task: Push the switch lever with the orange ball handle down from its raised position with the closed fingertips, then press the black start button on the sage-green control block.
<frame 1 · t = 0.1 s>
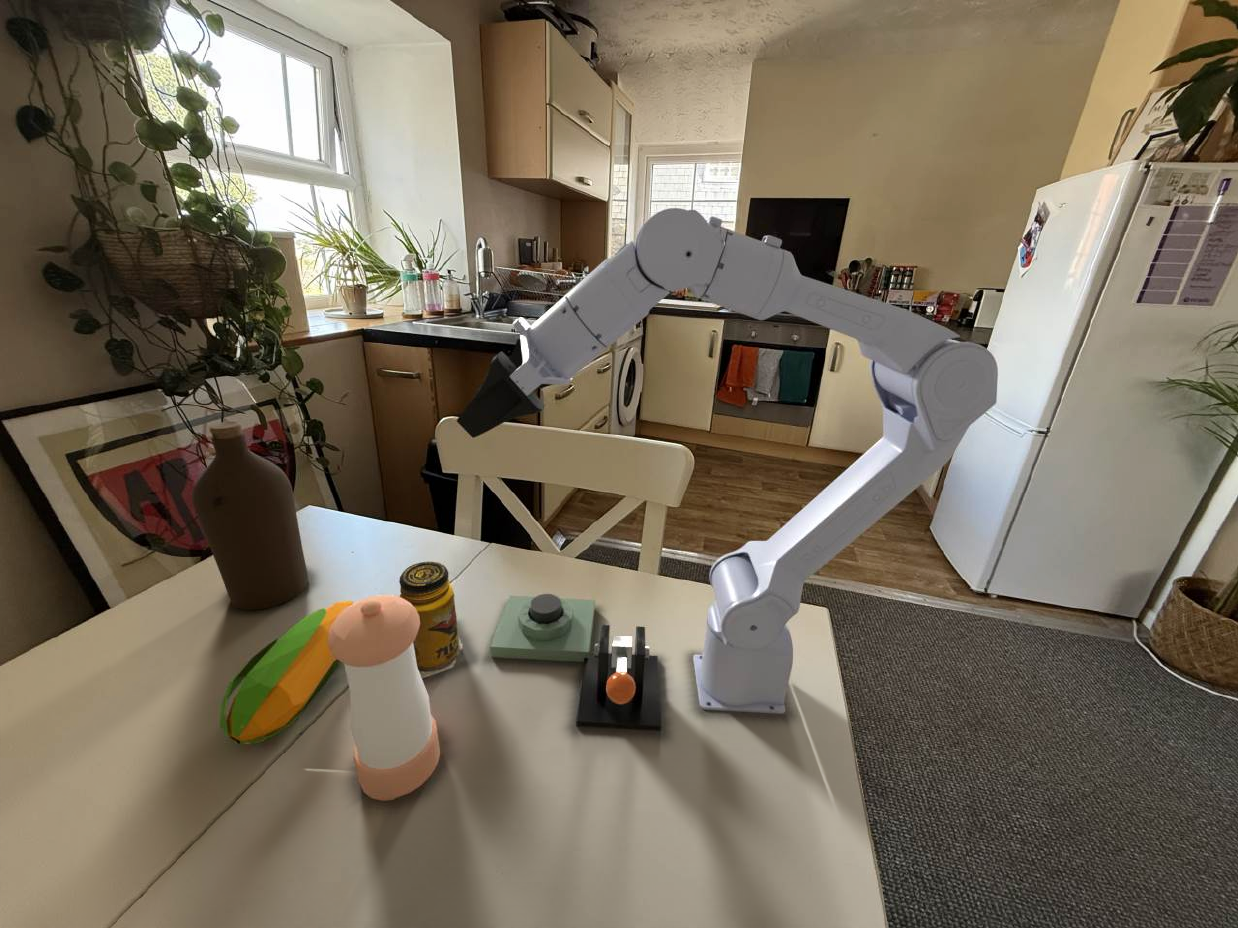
hand: (478, 415, 47), 32 cm above the table, tool tilted 50°, fingers open, 7 cm apart
start button: (545, 608, 64), point 4 cm above the table, slide at 0.1 cm
olive oil: (272, 590, 72), on the table
switch lever: (621, 668, 51), point 7 cm above the table, hinge at 20.0°
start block: (546, 633, 65), on the table
pepper shaker: (401, 764, 48), on the table
switch bracket: (619, 692, 57), on the table
corn: (306, 683, 57), on the table
condiment: (426, 656, 61), on the table
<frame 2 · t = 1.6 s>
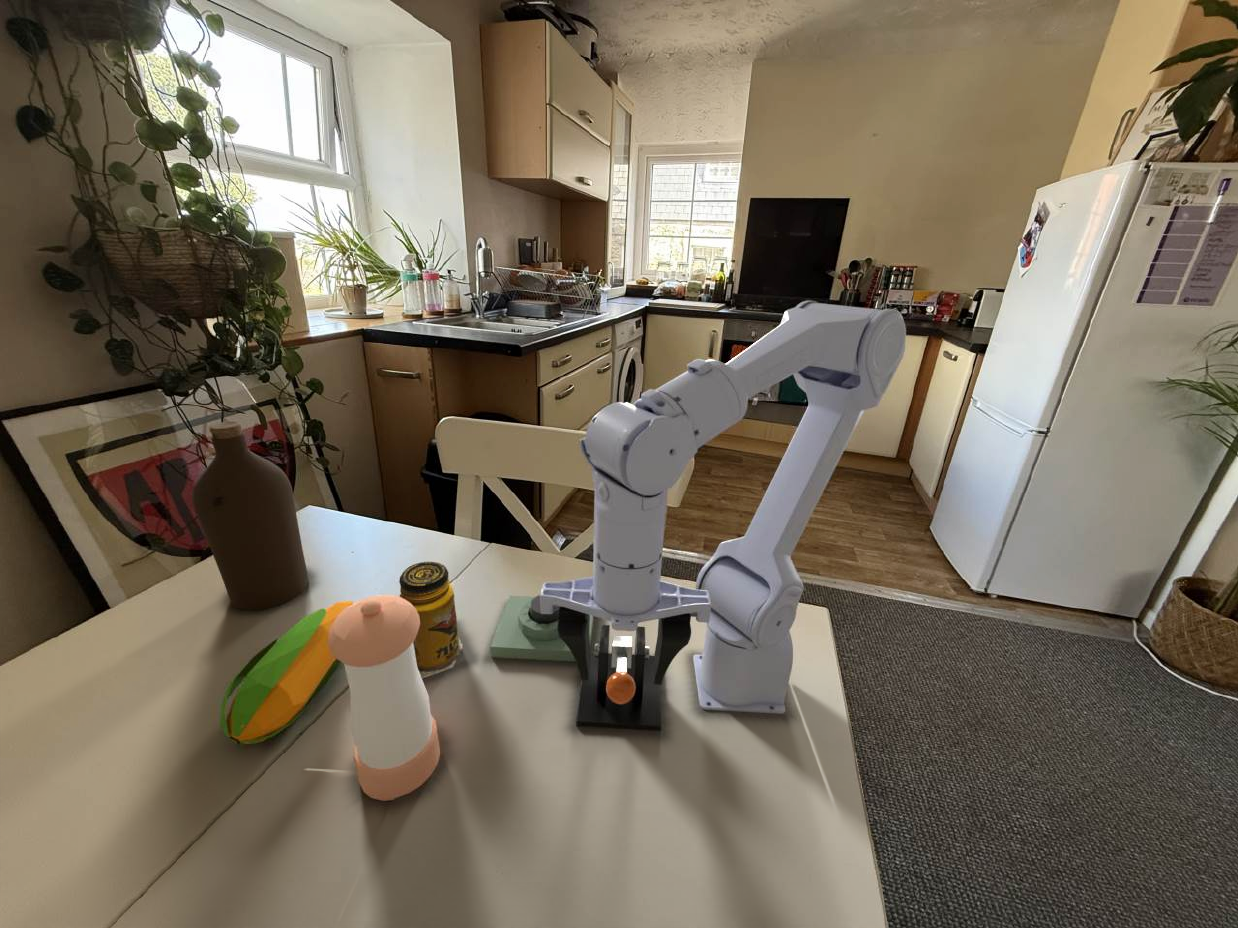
hand: (621, 674, 46), 10 cm above the table, tool pointing down, fingers open, 6 cm apart
nothing on the table moved.
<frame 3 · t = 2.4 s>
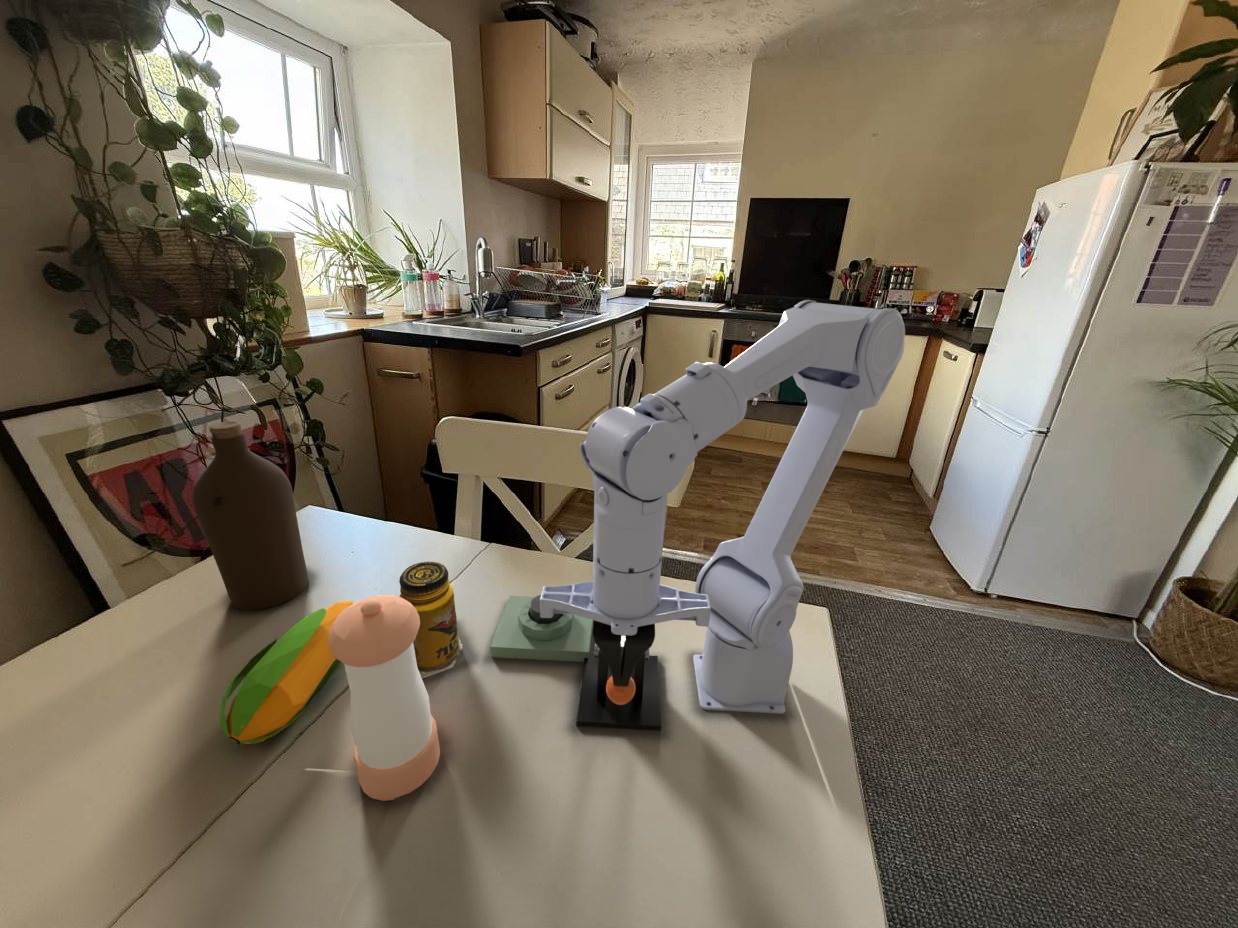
hand: (621, 677, 46), 10 cm above the table, tool pointing down, fingers closed, pressing on switch lever
switch lever: (621, 668, 51), point 7 cm above the table, hinge at 19.6°, touching gripper
everything else where it was.
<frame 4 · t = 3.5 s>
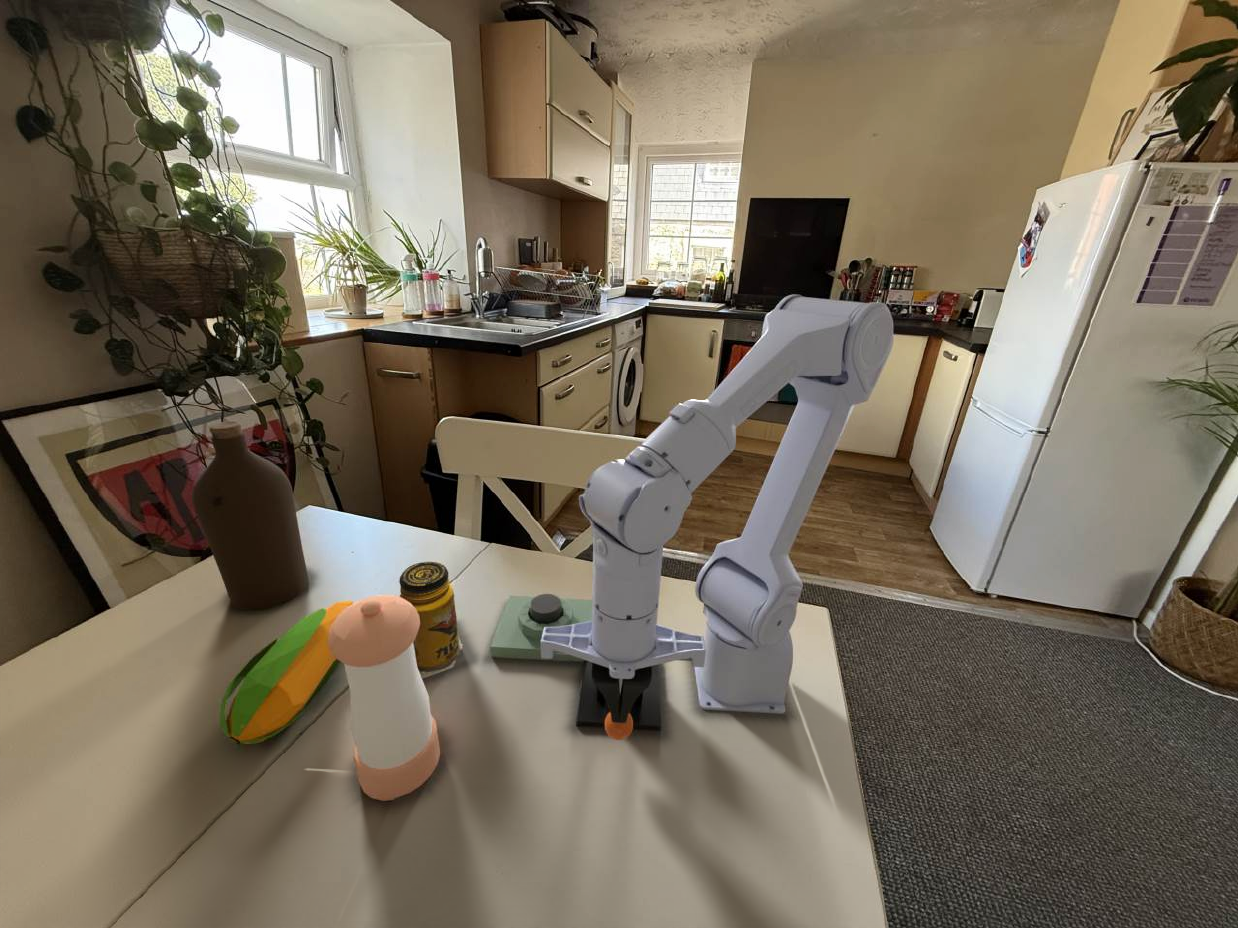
hand: (619, 713, 48), 6 cm above the table, tool pointing down, fingers closed, pressing on switch lever
switch lever: (620, 685, 51), point 5 cm above the table, hinge at -12.0°, touching gripper
everything else where it was.
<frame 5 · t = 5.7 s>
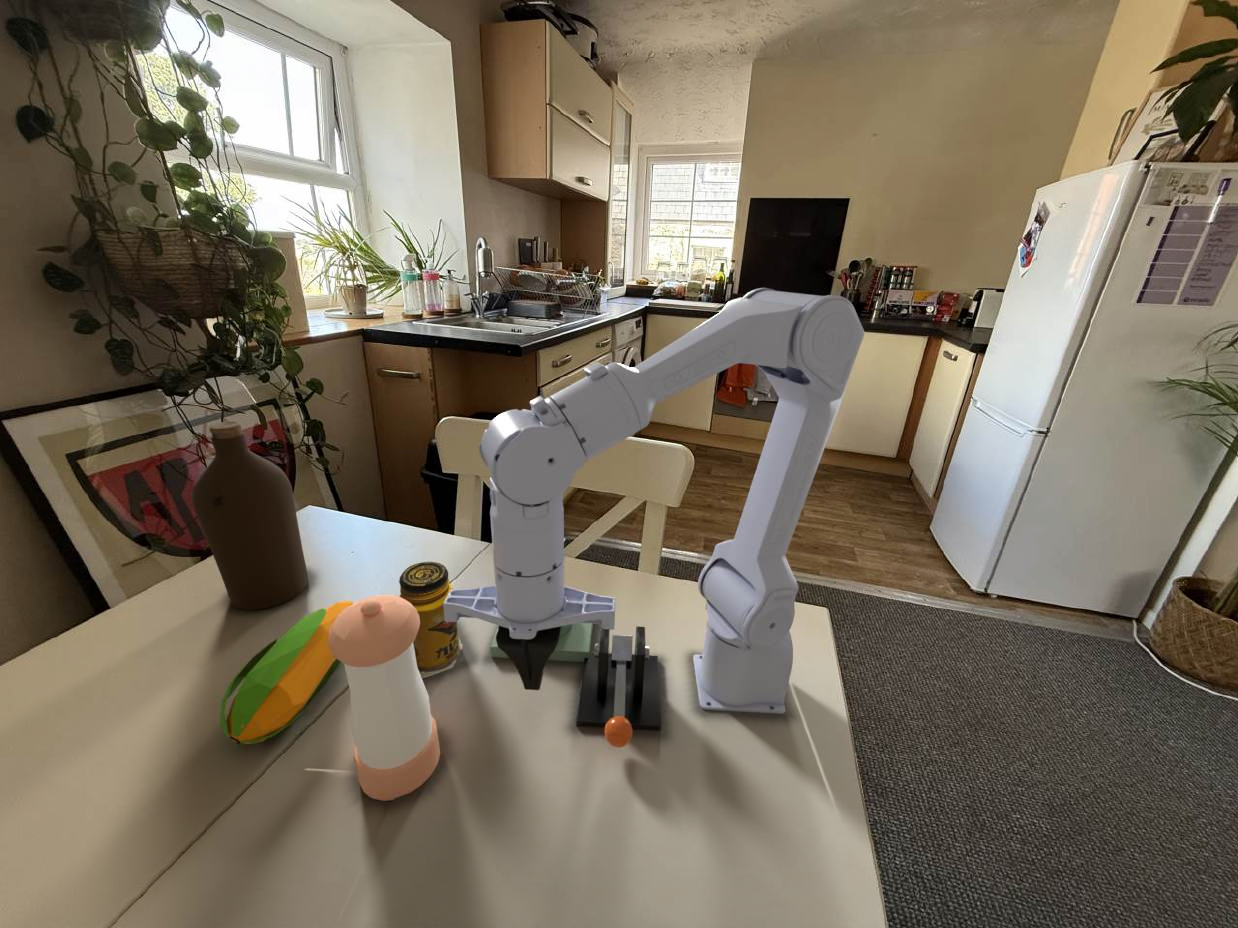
hand: (533, 681, 46), 10 cm above the table, tool pointing down, fingers closed
switch lever: (620, 689, 52), point 4 cm above the table, hinge at -24.8°
everything else where it was.
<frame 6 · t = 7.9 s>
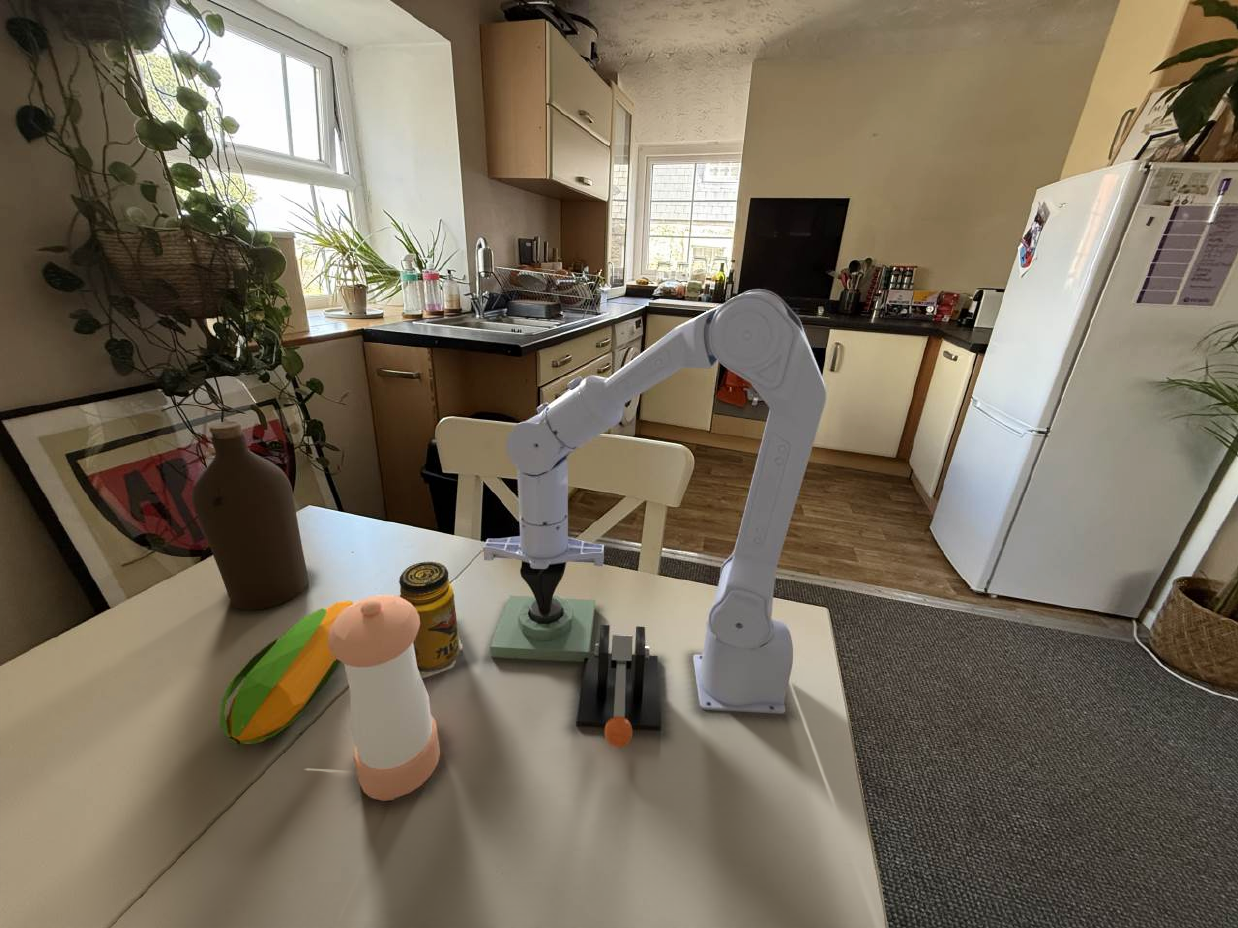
hand: (545, 606, 64), 4 cm above the table, tool pointing down, fingers closed, pressing on start button
start button: (546, 612, 64), point 3 cm above the table, slide at -0.4 cm, touching gripper
everything else where it was.
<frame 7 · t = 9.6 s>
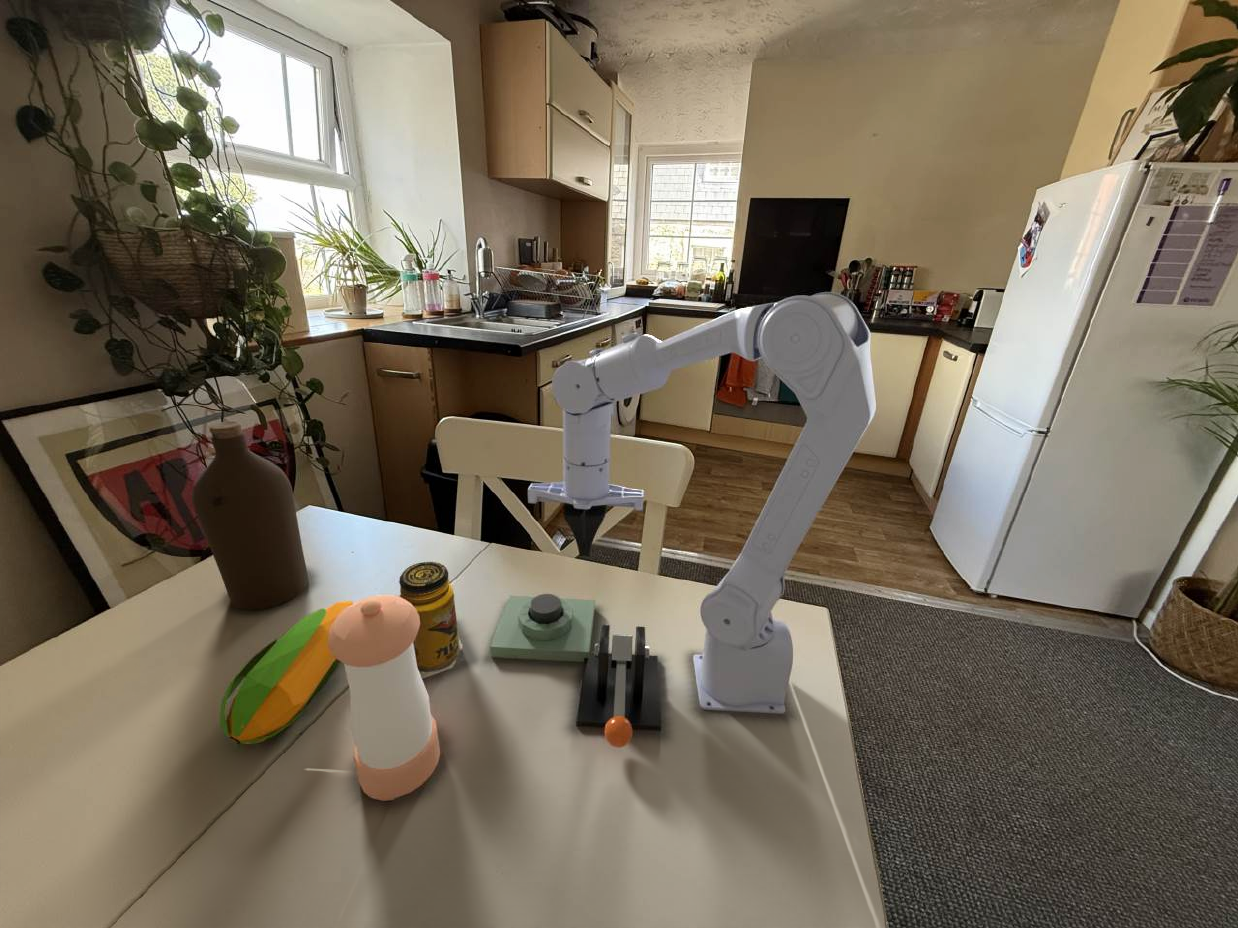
hand: (585, 552, 66), 10 cm above the table, tool pointing down, fingers closed
start button: (545, 608, 64), point 4 cm above the table, slide at 0.1 cm
everything else where it was.
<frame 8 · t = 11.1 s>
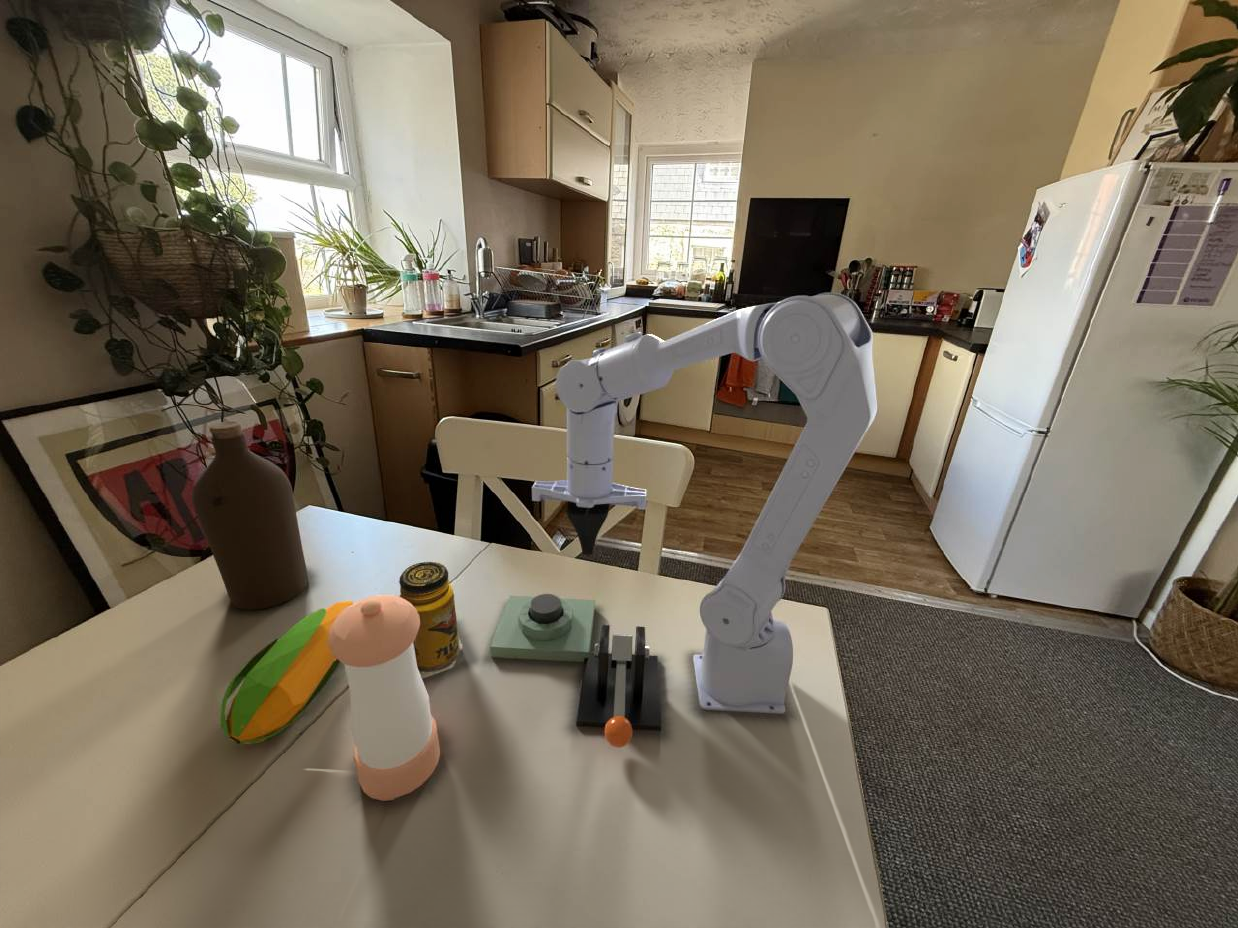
hand: (588, 550, 66), 10 cm above the table, tool pointing down, fingers closed
nothing on the table moved.
at the end: switch lever at -25° (first picture: +20°); start button pushed in 1.0 cm at the most during the clip, back to where it started at the end; start button slide at 0.1 cm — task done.
